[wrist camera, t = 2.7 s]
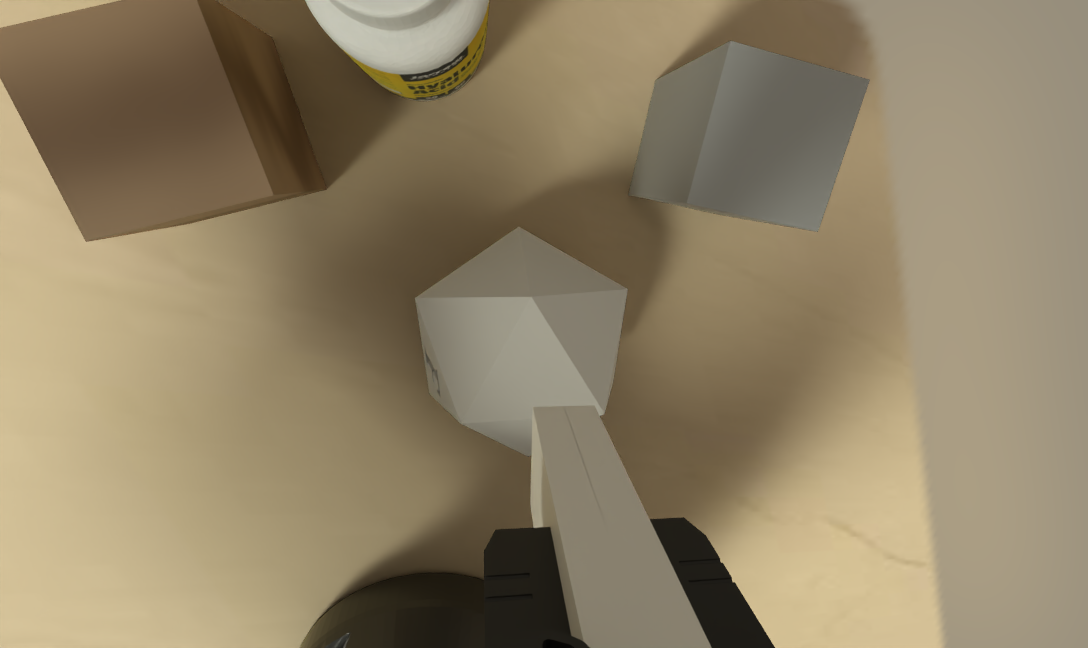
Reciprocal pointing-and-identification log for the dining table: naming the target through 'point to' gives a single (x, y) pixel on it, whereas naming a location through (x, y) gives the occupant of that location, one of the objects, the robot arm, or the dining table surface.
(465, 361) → the die
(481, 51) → the supplement bottle
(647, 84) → the dining table surface
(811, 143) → the grey block
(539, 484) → the robot arm
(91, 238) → the walnut block
